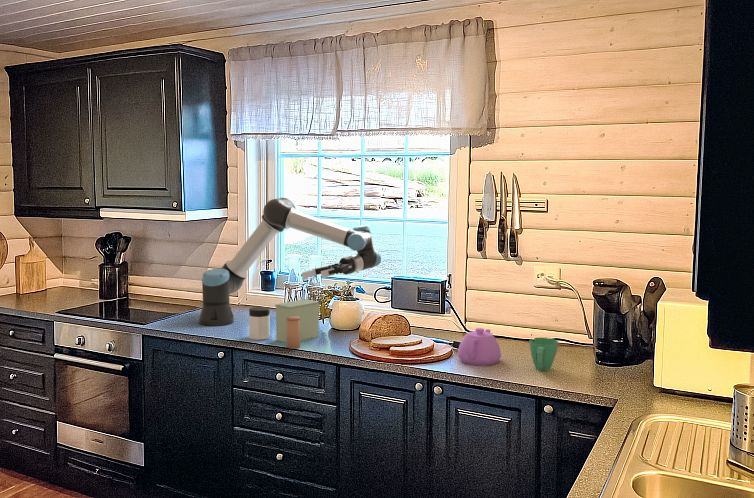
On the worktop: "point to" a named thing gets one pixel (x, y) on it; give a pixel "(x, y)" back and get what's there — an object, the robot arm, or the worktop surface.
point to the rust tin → (293, 332)
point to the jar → (259, 323)
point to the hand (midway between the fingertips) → (312, 275)
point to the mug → (543, 352)
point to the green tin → (308, 318)
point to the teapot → (479, 348)
